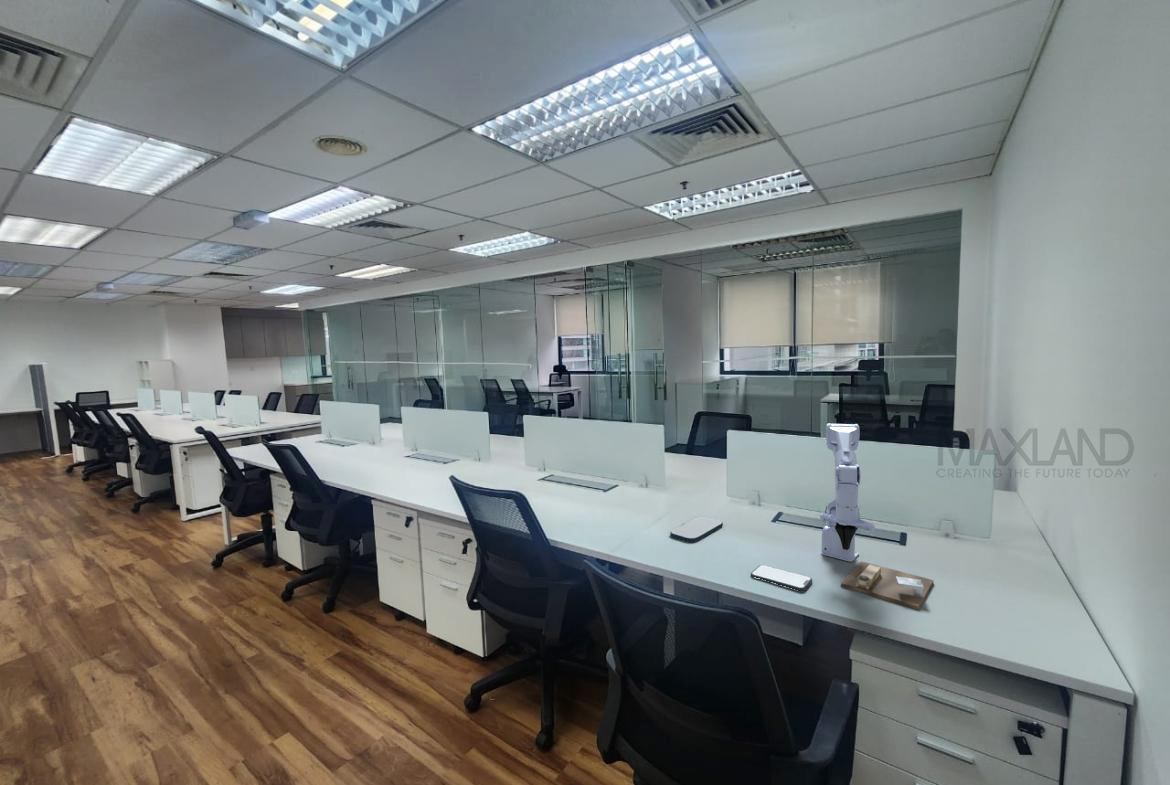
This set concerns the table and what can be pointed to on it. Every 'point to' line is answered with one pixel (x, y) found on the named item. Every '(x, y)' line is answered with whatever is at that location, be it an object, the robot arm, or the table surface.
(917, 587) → the keeper
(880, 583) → the walnut board
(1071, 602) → the table surface
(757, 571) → the phone case
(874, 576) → the pivot link
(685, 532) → the external hard drive
